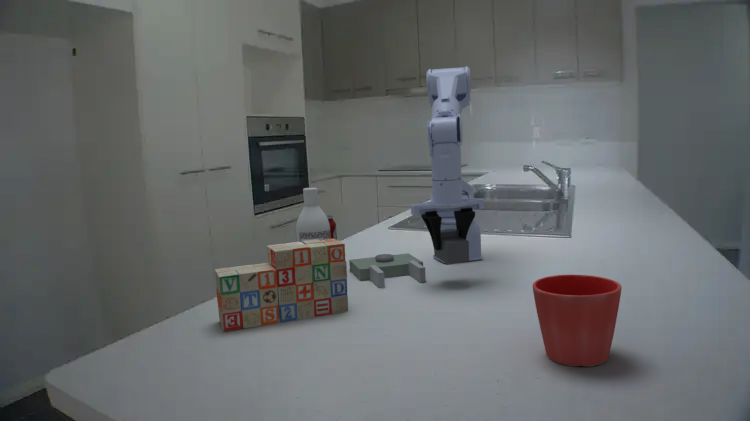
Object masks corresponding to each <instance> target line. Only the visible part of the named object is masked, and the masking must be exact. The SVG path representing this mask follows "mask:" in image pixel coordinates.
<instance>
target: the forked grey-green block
mask: <svg viewBox="0 0 750 421" xmlns="http://www.w3.org/2000/svg"><path fill="white" fill-rule="evenodd" d="M348 262H349V271H350V272H351V274H353V275H354V276H355V277H356V278H357V279H358V280H359V281H361V282H362V281H368V280H369V281H370V282H372V283H373V284H375V286H377V287H378V288H379V289H380V288H386V281H385V278H386V277H387V278H394V276H395V277H402V276H410V277H411V278H413V279H414V280H415V281H417V282H418V283H420V284H421V283H426V282H427V281H426V280H427V278H426V276H427V275H426V266H424V262H423V261H422V260H420V259H419V258H417V257H415V256H414V255H412V254H411V253H409V252H408V253H407V252H406V253H398V254H390V253H388V254H387V253H383V254H377V255H375V256H373V257H370V256H369V257H365V258H361V257H360V258H355V259H354V258H353V259H349V261H348Z"/></svg>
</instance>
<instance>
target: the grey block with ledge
mask: <svg viewBox="0 0 750 421" xmlns="http://www.w3.org/2000/svg"><path fill="white" fill-rule="evenodd" d="M440 237H441V250H435V249H434V248H433V252H434V254H433V255H434V256H435V257H437V258H439V259H440V260H442V261H443V262H445V263H447V265H451V264H458V263H459V264H460V263H468V262H470V261H469V241H467V240H465V239H463V238H461V237H459V230H456V229H444V230H441V231H440ZM443 262H442V263H443ZM445 263H444V264H445Z"/></svg>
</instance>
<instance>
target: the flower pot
mask: <svg viewBox="0 0 750 421" xmlns="http://www.w3.org/2000/svg"><path fill="white" fill-rule="evenodd" d="M622 288H623V287H622V285H621V283H620V282H618V281H616V280H613V279H611V278H607V277H603V276H602V277H601V276H596V275H591V274H589V275H588V274H556V275H550V276H545V277H542V278H541V277H540V278H538V279H537V280H535V281H534V282H533V283H532V292H533V293H532V294H533V298H534V304H535V310H536V314H537V315H536V316H537V319H538V324H539V329H540V332H541V337H542V342H543V344H544V345H543V346H544V350H545V355H546V356H547V357H548V358H549V359H550V360H552V361H553V362H555V363H557V364H562V365H565V366H570V367H580V366H582V367H594V366H599V365H602V364H604V363H606V362H607V361H608V359H610V358H609V357H610V352H611V348H612V344H613V340H614V335H615V329H616V323H617V318H618V312H619V308H620V302H621V295H622Z"/></svg>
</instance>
